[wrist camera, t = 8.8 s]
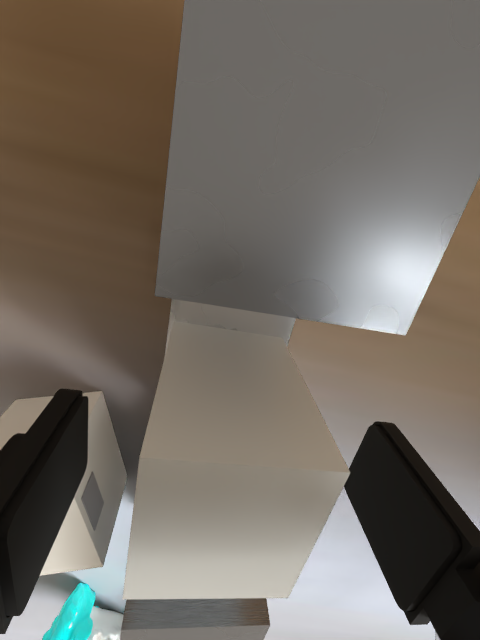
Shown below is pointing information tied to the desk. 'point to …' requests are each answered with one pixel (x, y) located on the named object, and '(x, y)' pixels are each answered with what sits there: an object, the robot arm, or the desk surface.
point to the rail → (310, 186)
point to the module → (229, 472)
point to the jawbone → (84, 619)
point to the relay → (80, 486)
